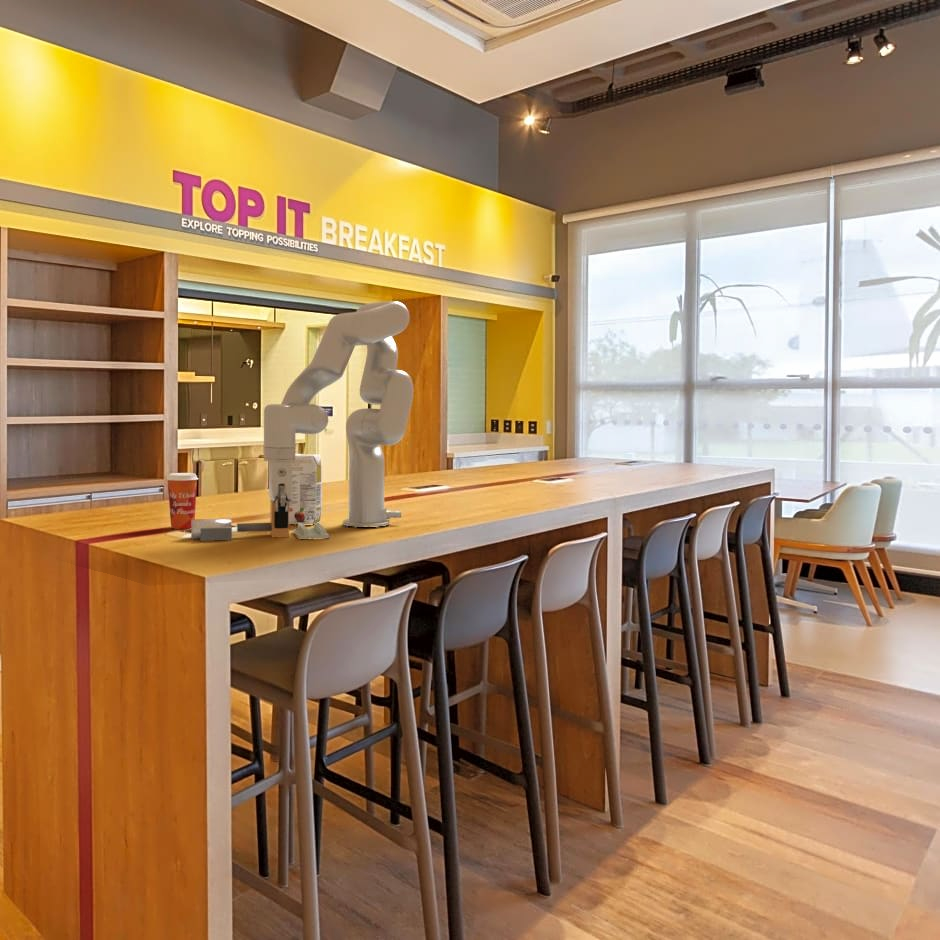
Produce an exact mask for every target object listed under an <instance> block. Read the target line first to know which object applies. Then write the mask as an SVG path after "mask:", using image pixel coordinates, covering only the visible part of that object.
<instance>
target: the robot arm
mask: <svg viewBox="0 0 940 940" xmlns="http://www.w3.org/2000/svg"><path fill="white" fill-rule="evenodd" d="M409 323H410V312H409V310H408V308H407V307H406V305H405V304H403V303H402V302H401V301H397V300H390V301H380V302H379V301H378V302H370V303H366V304H365V303H364V304H363V305H361V306H359V307H358V308H357V309H356V311H353V312H344V313H339V314H336V315H334V316H333V317H332V318H330V320H329V322H328V323H327V326H326V328H325V331H324V333H323V335H322V337H321V339H320V342H319V344H318V346H317V348H316V351H315V354H314V356H313V358H312V360H311V362H310V363H309V365H307V366H306V367H305V368H304V369H303V370H302V371H301V373H299V375H298V376H297V377H296V378H295V379H294V381H292V382H291V384H290V385H289V387H288V389H287V390H286V392H285V394H284V397H283V398H282V401H281V404H279V403H274V404H273V403H271V404H270V403H269V404H266V406H265V407H264V408H263V409H264V410H263V462H268V494H269V500H270V499H271V500H272V501H274V502H275V508H276V512H274V527H275V528H288V506H287V499H288V500H289V501H290V502H291V501H292V500H293V488H292V464H291V461H295V454H296V434H302V435H316V434H319V433H321V432H323V431H324V430H325V429H326V428H327V426H328V424H329V415H328V413H327V411H326V410H325V409H324V408H323V407H322V406H320V405H317V404H312V403H311V402H312V400H313V399H314V398H315V396H316V395H317V394H319V392H321V391H322V390H324V389H325V388H327V387H329V386H331V385H333V384H334V383H335V382H338V381H339V380H340V379H341V378H342V377H343V375H344V372H345V371H346V368H347V365H348V363H349V362H350V358H351V357H352V354H353V351H354V350H355V348H356V346H366V357H365V364H364V368H363V371H362V372H363V373H362V376H361V381H360V387H359V397H360V398H361V400H362V401H363V402H365V403H366V404H368V405H374V406H380V407H379V408H366V407H365V408H360V409H356V410H355V411H353V412H351V413H350V414H349V416H348V418H347V420H346V422H345V433H346V439H347V445H348V455H349V462H348V463H349V466H348V469H349V471H348V518H345V519H343V521H342V525H343V524H344V525H343V526H345V525H347V526H346V527H348V526H356V527H355V528H357V527H364V526H383V525H387V524H389V523H390V524H391V522H390V519H391V518H392V519H393V518H394V519H396V518H398V519H399V518H402V511H401V510H389V509H387V508H385V475H386V473H385V468H386V466H385V465H386V463H385V462H386V460H385V455H384V451H383V449H382V446H394V445H396V444H398V443H399V442H400V441H401V440H402V439H403V438H404V436H405V433H406V430H407V426H408V422H409V418H410V413H411V409H412V404H413V398H414V390H415V389H414V383H413V380H412V378H411V375H409V374H408V373H407V372H405V371H404V370H400V369H397V366H398V360H399V351H398V345H397V344H396V342H395V340H394V338H393V337H394V336H396V335H398V334H399V335H400V334H401V333H402V332H405V330H406V329H407V327H408V326H409ZM390 524H389V525H390Z"/></svg>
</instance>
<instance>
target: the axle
mask: <svg viewBox="0 0 940 940" xmlns="http://www.w3.org/2000/svg"><path fill="white" fill-rule="evenodd" d="M220 527H232V518H204V519H203V518H200V519H199V518H198V519H197V518H195V519H194V520H191V529H190V532H191V534H190V535H191V536H190V537H191V539H197V540H201V533H200V528H220Z"/></svg>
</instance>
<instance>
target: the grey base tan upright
mask: <svg viewBox="0 0 940 940" xmlns="http://www.w3.org/2000/svg"><path fill="white" fill-rule="evenodd" d="M269 500H270V505H269V506H270V507H269V508H270V511H269V512H270V517H269V518H270V522H251V523H250V522H249V523H245V522H244V523H237V524H236V531H237V533H244V532H248V533H249V532H270V536H272V537H277V538H288V537H287V536H289V537H290V524H289V500H288V499H287V506H288V528H275V527H274V512H276V508H275V502H274V501H272V500H271V499H270V498H269ZM272 537H271V538H272Z"/></svg>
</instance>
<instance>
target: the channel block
mask: <svg viewBox="0 0 940 940" xmlns="http://www.w3.org/2000/svg"><path fill="white" fill-rule="evenodd" d="M232 530H233V528H232V526H231V527H220V528H200V533H201V539H200V542H215V541H214V540H228V541H233V540H232V539H233V537H232V536H233V534H232V533H233V531H232Z"/></svg>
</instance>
